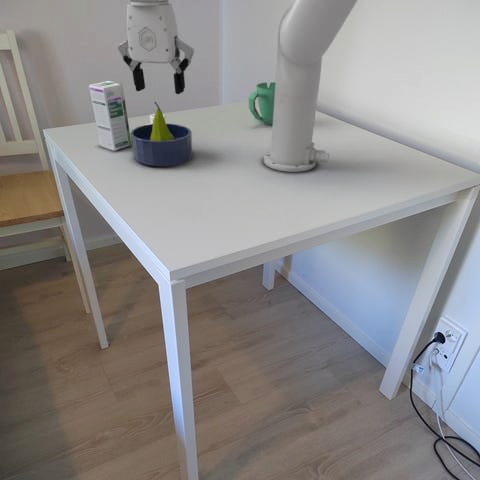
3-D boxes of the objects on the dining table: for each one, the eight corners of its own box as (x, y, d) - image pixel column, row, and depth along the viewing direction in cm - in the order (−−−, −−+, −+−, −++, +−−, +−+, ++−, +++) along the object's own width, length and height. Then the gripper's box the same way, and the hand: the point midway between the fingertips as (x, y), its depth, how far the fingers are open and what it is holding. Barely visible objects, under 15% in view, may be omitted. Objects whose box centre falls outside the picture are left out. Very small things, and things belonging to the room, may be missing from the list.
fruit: (179, 158, 103) (175, 104, 95) (154, 161, 101) (148, 106, 93) (172, 149, 107) (167, 97, 100) (147, 152, 106) (141, 99, 98)
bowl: (201, 152, 108) (200, 127, 104) (177, 171, 98) (175, 145, 94) (150, 145, 111) (148, 120, 108) (123, 163, 101) (119, 137, 97)
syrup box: (114, 151, 107) (104, 87, 98) (99, 146, 110) (88, 83, 100) (132, 145, 111) (123, 83, 101) (117, 141, 113) (107, 79, 104)
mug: (268, 116, 135) (271, 80, 128) (293, 122, 130) (297, 86, 123) (237, 125, 126) (238, 88, 120) (262, 133, 121) (264, 94, 115)
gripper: (100, -4, 83) (117, 92, 94) (181, -3, 79) (188, 98, 90) (120, -7, 89) (134, 85, 100) (196, -6, 85) (202, 90, 96)
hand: (160, 91), depth 95 cm, fingers open, 9 cm apart
